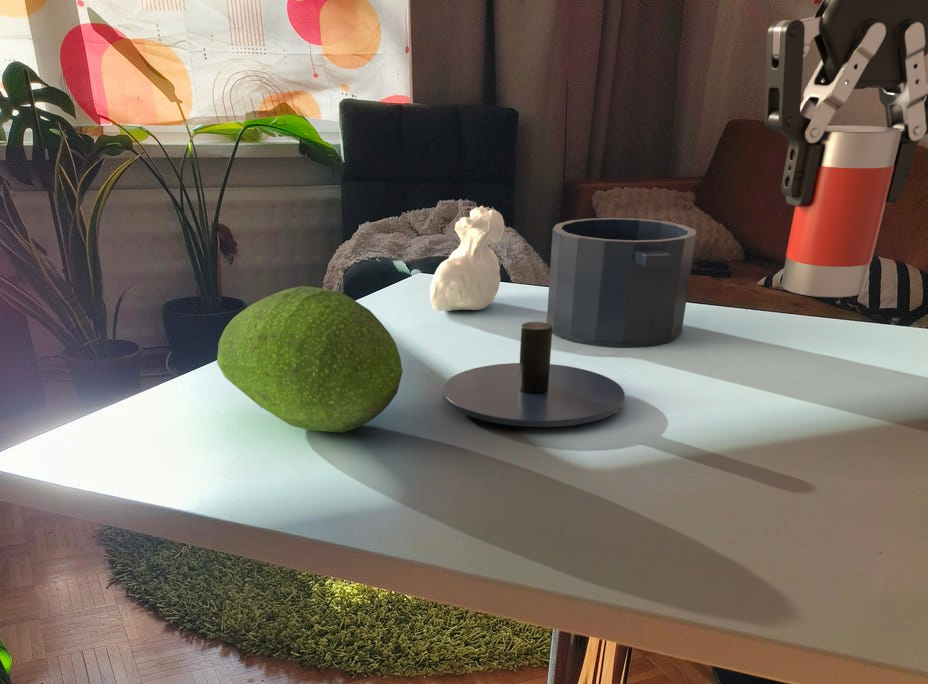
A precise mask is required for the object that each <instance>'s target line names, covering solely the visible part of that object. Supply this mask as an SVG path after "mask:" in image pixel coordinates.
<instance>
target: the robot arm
mask: <svg viewBox="0 0 928 684" xmlns="http://www.w3.org/2000/svg"><path fill="white" fill-rule="evenodd" d="M813 40H814V43H815V46H816V48H817V51H818V54H819V57H820V61H819V63H818V65H817V67H816V69H815V70H814V72H813V74H812V76H811V77H810V80H809V81H808V84H807V85H806V86H805V89H804V91H803V99H802V88H803V69H804V66H803V65H804V59H805V58H807V56H808V55H809V53H810V50H811V45H812V42H813ZM927 55H928V0H821V1H820V4H819V6H818V7H817V10H815V12H814V15H813V16H812V17H807V18H802V19H788V20H787V19H786V20H775V21H774V22H772V23H771V24H770V25H769V27H768V29H767V35H766V61H765V62H766V63H765V68H766V69H765V93H764V116H763V117H764V118H763V119H764V121H763V122H764V126H765V127H766V128H767V129H768V130H773V131H775V132H777V133H779V134H781V135H783V136H785V137H786V139H787V141H788V147H787V148H788V149H787V153H786V158H785V165H784V170H783V174H782V180H781V184H780V185H781V186H780V187H781V194H782V195H784V196H785V203H786V204H787V205H790V206H794V207H795V206H796V207H805V206H809V204H810V202H811V199H812V194H813V189H814V184H815V179H816V175H817V170H818V165H819V160H820V155H821V150H822V144H817V141H819V140H820V139H821V137H822V135H823V134H824V132H825V130H826V128H827V126H830V123H831V121H832V119H833V118H834V116H835V114H836V112H837V111H838V110H839V109H840V108H842V107H843V106H844V105H845V104H846V102H847V101H848V99H849V97H850V95H851V94H852V92H853V90H864V89H867V88H871V89H877V90H878V98H879V101H880V103H881V104H882V106H883V107H884V111H885V112H884V113H885V118H886V119H885V121H886V127H890V128H897V129H901V130H902V134H901V138H900V142H899V146H898V151H897V155H896V159H895V163H894V165H895V166H894V170H893V174H892V179H891V183H890V187H889V191H888V195H887V199H886V203H885V205H894V204H896V203H897V201H898V199H899V196H900V195H902V194H903V193H904V191H905V190H906V188H907V186H908V181H909V178H910V175H911V169H912V166H913V162H914V158H915V154H916V150H917V146H918V144H919V142H920V140H922V138H923V137H924V136H927V135H928V80H927V70H926V59H925V57H926V56H927Z"/></svg>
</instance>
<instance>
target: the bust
mask: <svg viewBox="0 0 928 684" xmlns="http://www.w3.org/2000/svg"><path fill="white" fill-rule="evenodd" d="M469 215H470V216H469V217H467V216H463V217H461V218H460V219H459V220H458V221H456V222H455V226H454V231H455V232H456V234H457V237H459V239H460V244H459V245H458V247H457V248H456V249H454V251H452V253H451V254H450V255H449V257H448V258H447V259H445V260H444V261H442V262H441V263H440V264H439V265H438V267H437V268H436V270H435V272H434V275H433V277H432V281H431V284H430V288H429V297H430V301H431V306H432V308H433V309H434V310H435V311H437V312H444V311H447V312H451V311H458V310H460V311H461V310H465V311H466V310H467V311H468V310H471V311H479V310H484V309H485V308H486V307H487V306H489V305H490V304H491V303H492V302H493V301H494V300H495V298H496V295H497V293H498V291H499V289H500V282H501V280H502V279H501V274H500V270H501V266H500V263H499V262H500V261H499V259H498V256H497V254H496V252H495V251H494V250H493V249H492V248H491V247H490V246H489V245H490V244H499V242H501V240H502V239H503V237H504V232H505V220H504V218H503V215H502V214H501V213H499V212H498V211H497V210H495V209H488V207H484V205H481V206H479V207H477V206H476V207H475V208H474V209H471V210H470V212H469Z"/></svg>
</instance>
